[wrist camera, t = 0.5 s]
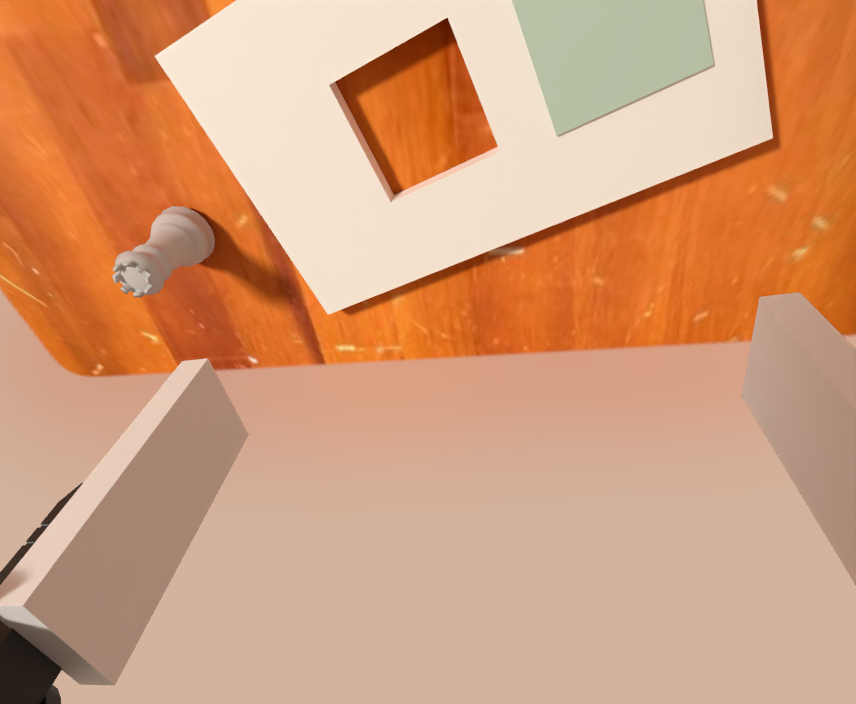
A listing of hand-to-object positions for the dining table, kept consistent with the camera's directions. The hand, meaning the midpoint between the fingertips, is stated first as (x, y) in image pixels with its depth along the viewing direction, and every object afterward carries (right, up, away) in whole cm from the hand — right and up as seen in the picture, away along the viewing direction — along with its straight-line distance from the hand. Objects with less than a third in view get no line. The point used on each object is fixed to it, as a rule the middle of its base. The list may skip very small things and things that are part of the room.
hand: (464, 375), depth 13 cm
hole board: (+1, +17, +20) cm, 26 cm away
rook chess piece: (-19, +10, +28) cm, 35 cm away
